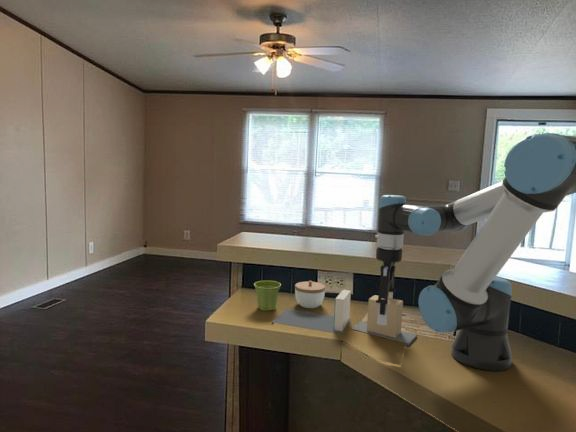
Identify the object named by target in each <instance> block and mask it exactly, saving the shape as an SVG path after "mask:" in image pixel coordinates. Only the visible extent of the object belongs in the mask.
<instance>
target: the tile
mask: <svg viewBox="0 0 576 432" xmlns="http://www.w3.org/2000/svg"><path fill="white" fill-rule="evenodd" d="M351 292H352V291H351V290H349V289H342V290H341V291H340V292H339V294H338V295H337V296H336V297H335V298H334V313H333V316H334V330H336V331H343V330H344V328H345V326H346V325H347V323H348V322H349V318H350V315H351V314H350V312H351V296H352V295H351Z"/></svg>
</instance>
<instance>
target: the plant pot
mask: <svg viewBox="0 0 576 432" xmlns="http://www.w3.org/2000/svg"><path fill="white" fill-rule="evenodd" d="M253 286H254V288H255V291H256V299H257V308H258V309H259V310H260V311H263V312H264V311H265V312H269V311H274V310H276V308H277V303H278V302H277V301H278V295H279V291H280V289H281V286H282V283H281V282H278V281H276V280H259V281H255V282H254V283H253Z"/></svg>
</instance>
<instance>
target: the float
mask: <svg viewBox="0 0 576 432" xmlns="http://www.w3.org/2000/svg"><path fill="white" fill-rule="evenodd" d="M381 299H382V298H381ZM376 300H378V295H376V294H375V295H372V296H371V297H369V298H368V302H367V304H368V306H367V321H362V320H361V321H359V322H358V323H357V324H356V325H354V326H352V327H351V330H352V331H356V332H360V333H364V334H367V335H372V336H377V337H381V338H384V339H388V340H391V341H396V342H400V343H403V344H404V346H407V347H408V346H410V345H411V344H412V343H413V342H414V341H415V340H416V339H417V336H418V335H417V333H412V332H408V331H404V330H402V321H403V320H402V318H403V307H404V301H403V300H401V299H396V298H393V299H392V298H388V314H387V325H380V324H377V317H378V303H376Z"/></svg>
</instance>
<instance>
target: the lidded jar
mask: <svg viewBox="0 0 576 432" xmlns="http://www.w3.org/2000/svg"><path fill="white" fill-rule="evenodd" d="M325 294H326V284H323V283H321V282H316V281H312V280H308V281H299V282H297V283H295V285H294V296H295V300H296V302H297V303H298V305H299V306H300V307H302V308H305V309H316V308H318V307H320V306H321V305H322V303H323V301H324V299H325Z"/></svg>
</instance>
